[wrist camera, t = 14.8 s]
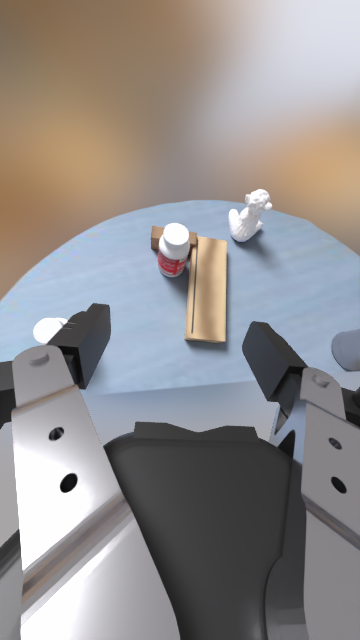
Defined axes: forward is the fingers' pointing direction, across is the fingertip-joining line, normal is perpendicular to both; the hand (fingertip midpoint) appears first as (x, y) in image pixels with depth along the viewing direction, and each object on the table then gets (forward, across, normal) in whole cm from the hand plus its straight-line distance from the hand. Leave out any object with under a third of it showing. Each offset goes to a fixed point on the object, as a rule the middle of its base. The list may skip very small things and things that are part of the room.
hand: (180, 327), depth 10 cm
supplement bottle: (+22, +18, +19) cm, 34 cm away
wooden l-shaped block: (+31, -4, +9) cm, 33 cm away
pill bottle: (+35, 0, +6) cm, 36 cm away
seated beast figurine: (+44, -18, -3) cm, 48 cm away
